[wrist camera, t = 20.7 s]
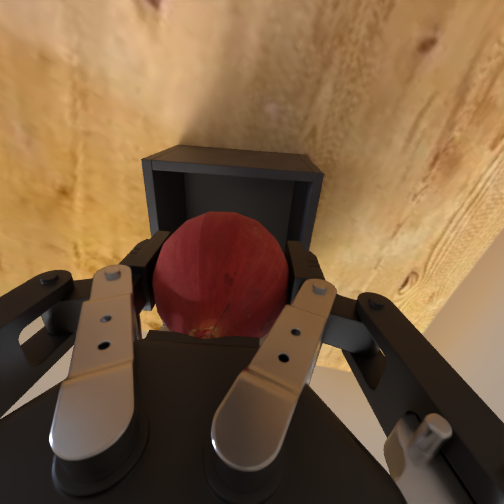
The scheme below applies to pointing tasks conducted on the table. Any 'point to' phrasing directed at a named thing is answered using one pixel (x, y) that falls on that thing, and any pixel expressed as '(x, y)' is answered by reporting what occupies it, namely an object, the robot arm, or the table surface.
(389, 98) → the table surface
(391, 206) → the table surface
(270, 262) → the onion
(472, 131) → the table surface
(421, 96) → the table surface
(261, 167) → the dark open storage bin
